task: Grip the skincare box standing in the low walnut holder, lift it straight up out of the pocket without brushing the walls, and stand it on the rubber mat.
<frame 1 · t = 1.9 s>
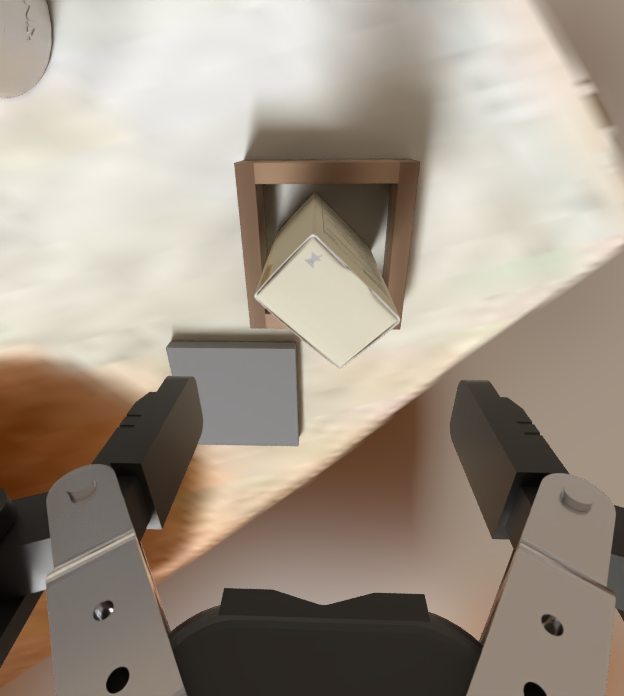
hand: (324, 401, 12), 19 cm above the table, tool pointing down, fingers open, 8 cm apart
rubber mat: (239, 392, 36), on the table
skincare box: (325, 242, 29), resting in pocket holder
pocket holder: (325, 243, 29), on the table
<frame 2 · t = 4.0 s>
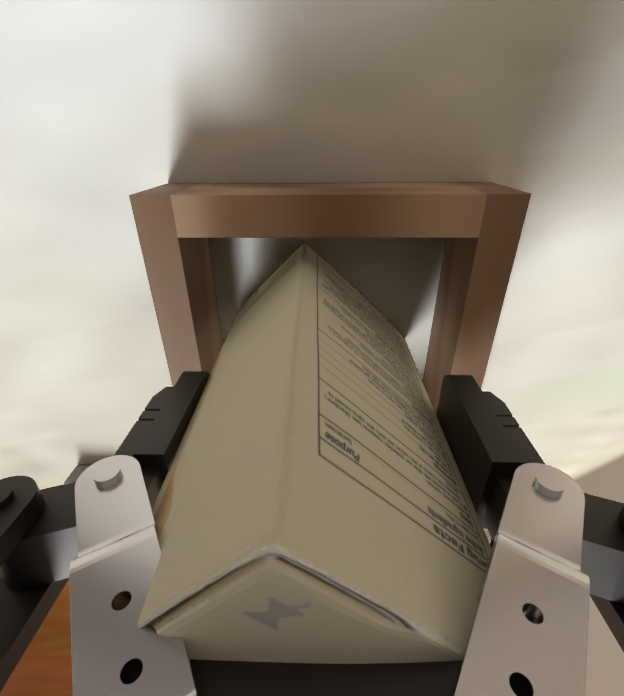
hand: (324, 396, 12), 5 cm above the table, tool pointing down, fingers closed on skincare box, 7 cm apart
skincare box: (325, 325, 16), resting in pocket holder, touching gripper
pocket holder: (325, 328, 16), on the table
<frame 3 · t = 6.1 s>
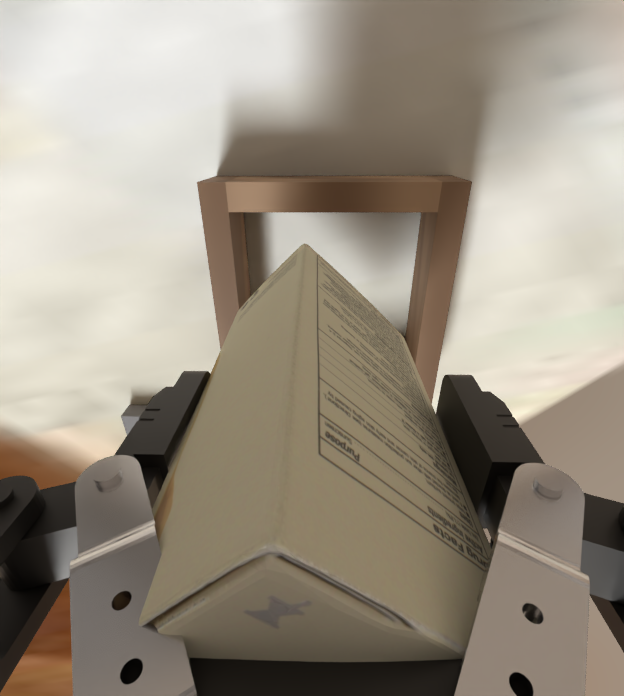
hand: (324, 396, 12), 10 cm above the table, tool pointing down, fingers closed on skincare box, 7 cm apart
rubber mat: (219, 465, 28), on the table
skincare box: (325, 325, 16), point 5 cm above the table, touching gripper
pocket holder: (330, 287, 21), on the table
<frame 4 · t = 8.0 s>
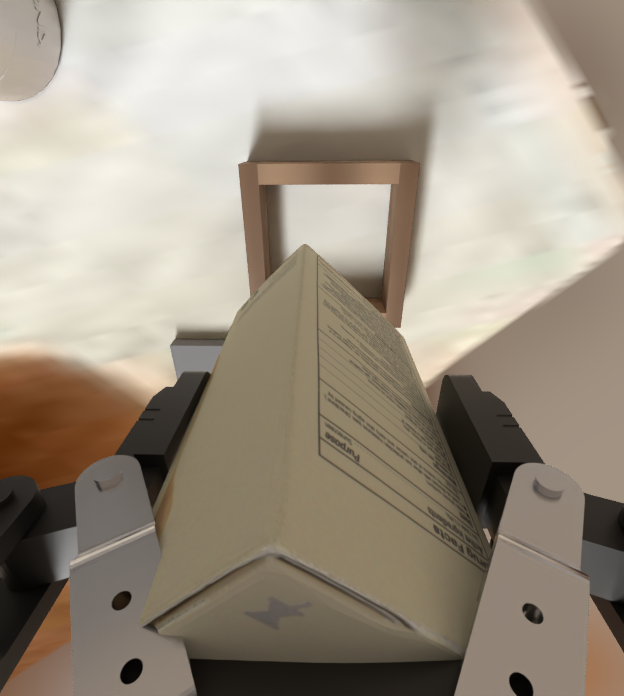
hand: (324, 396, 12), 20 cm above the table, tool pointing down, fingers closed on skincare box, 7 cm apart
rubber mat: (242, 390, 36), on the table
skincare box: (325, 325, 16), point 15 cm above the table, touching gripper
pocket holder: (327, 243, 29), on the table
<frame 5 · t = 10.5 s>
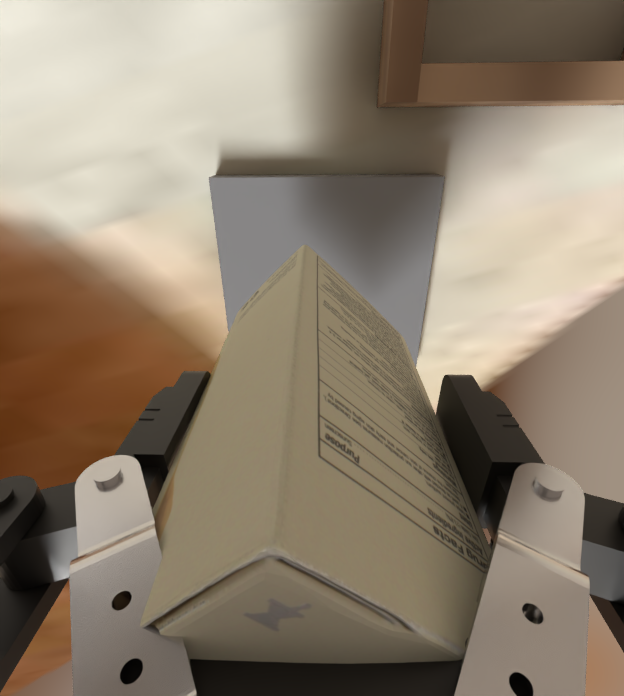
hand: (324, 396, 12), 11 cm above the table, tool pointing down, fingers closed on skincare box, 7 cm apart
rubber mat: (324, 281, 21), on the table
skincare box: (325, 326, 16), point 6 cm above the table, touching gripper
when the fingers open (7 cm above the table, at t = 12.2 s): skincare box drops 1 cm, resting on rubber mat.
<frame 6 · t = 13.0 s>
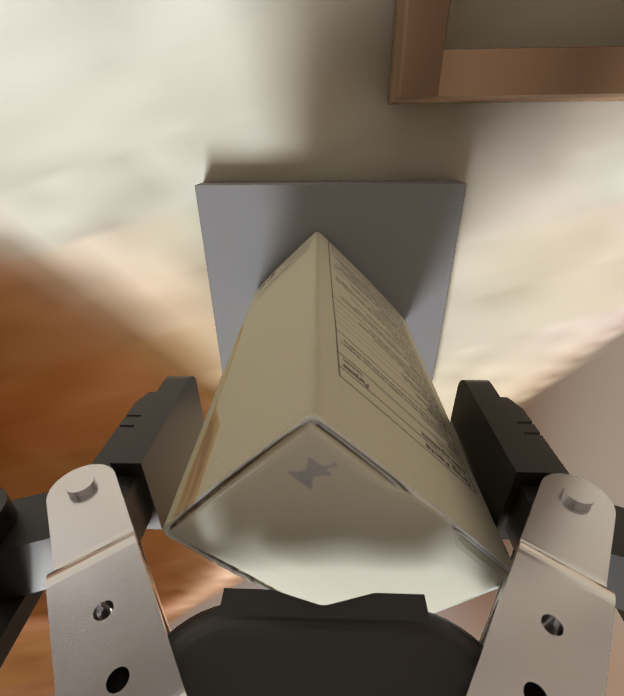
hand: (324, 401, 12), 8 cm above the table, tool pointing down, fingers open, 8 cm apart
rubber mat: (327, 300, 19), on the table
skincare box: (333, 307, 18), point 1 cm above the table, touching gripper, rubber mat
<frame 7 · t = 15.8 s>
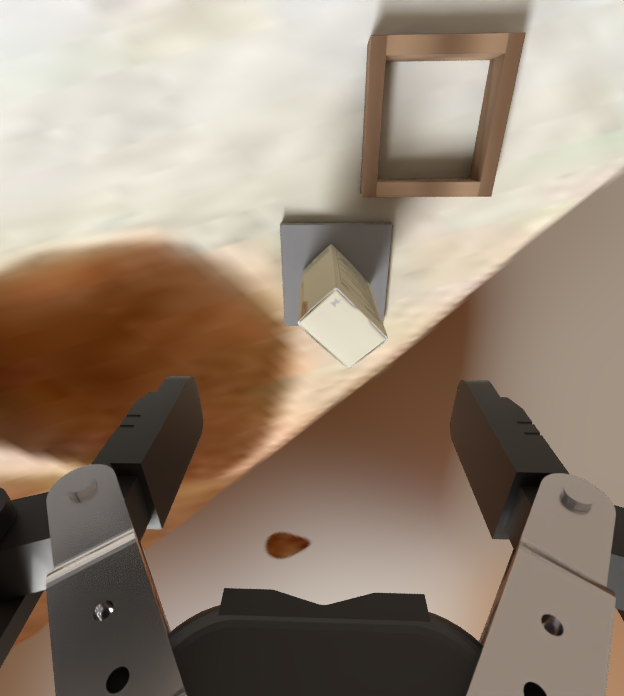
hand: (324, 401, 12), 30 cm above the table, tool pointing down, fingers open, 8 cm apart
rubber mat: (334, 275, 41), on the table
skincare box: (337, 277, 40), point 1 cm above the table, touching rubber mat
pocket holder: (427, 123, 34), on the table
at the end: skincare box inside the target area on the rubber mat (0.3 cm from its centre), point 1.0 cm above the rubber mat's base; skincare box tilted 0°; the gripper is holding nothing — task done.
